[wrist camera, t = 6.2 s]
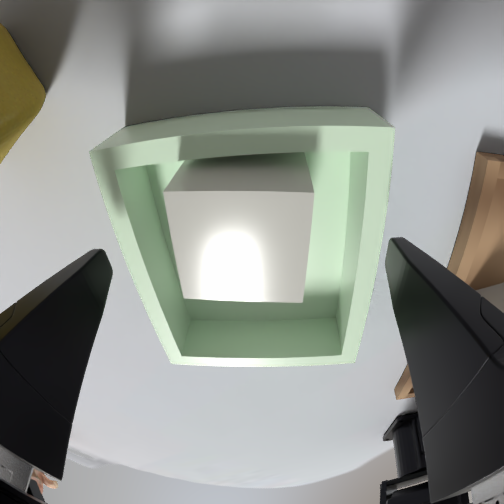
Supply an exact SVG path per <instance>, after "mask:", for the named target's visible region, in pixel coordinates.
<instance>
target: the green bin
mask: <svg viewBox="0 0 504 504" xmlns="http://www.w3.org/2000/svg"><path fill="white" fill-rule="evenodd" d="M394 135H395V127H394V126H392V125H391V124H390V123H388V122H387V121H386V120H385V119H383V118H382V117H381V116H379V115H378V114H377V113H375V112H374V111H373V110H371V109H370V108H368V107H339V106H310V107H278V108H260V109H247V110H235V111H224V112H215V113H206V114H198V115H191V116H184V117H177V118H170V119H164V120H158V121H152V122H147V123H141V124H136V125H131V126H126V127H124V128H122V129H121V130H119V131H118V132H116V133H115V134H113V135H112V136H110V137H109V138H108V139H106V140H105V141H103V142H102V143H101V144H99V145H98V146H96V147H95V148H94V149H92V150H91V151H90V152H89V154H90V157H91V161H92V164H93V168H94V171H95V174H96V178H97V181H98V184H99V187H100V191H101V194H102V197H103V200H104V203H105V206H106V209H107V212H108V215H109V218H110V221H111V223H112V226H113V229H114V232H115V235H116V237H117V240H118V243H119V246H120V248H121V251H122V253H123V256H124V259H125V261H126V264H127V266H128V269H129V271H130V274H131V276H132V279H133V281H134V284H135V286H136V288H137V291H138V293H139V295H140V298H141V300H142V302H143V305H144V307H145V309H146V311H147V314H148V316H149V318H150V320H151V322H152V325H153V327H154V329H155V331H156V333H157V335H158V337H159V340H160V342H161V344H162V346H163V348H164V350H165V352H166V354H167V356H168V358H169V360H170V362H171V364H182V365H201V366H230V367H284V366H313V365H332V364H347V363H355V360H356V356H357V353H358V349H359V345H360V342H361V338H362V334H363V330H364V326H365V322H366V318H367V314H368V309H369V305H370V300H371V296H372V291H373V287H374V282H375V277H376V272H377V267H378V261H379V256H380V250H381V245H382V239H383V232H384V226H385V219H386V212H387V205H388V197H389V189H390V180H391V171H392V161H393V149H394ZM292 152H304V153H305V157H306V161H307V165H308V168H309V172H310V177H311V181H312V185H313V189H314V203H313V214H312V225H311V235H310V244H309V254H308V263H307V271H306V280H305V288H304V296H303V303H285V302H249V301H224V300H203V299H184V297H183V292H182V288H181V283H180V279H179V274H178V269H177V264H176V259H175V254H174V249H173V244H172V239H171V234H170V228H169V223H168V217H167V212H166V206H165V200H164V194H163V191H164V190H165V188H166V187H167V185H168V184H169V182H170V181H171V179H172V178H173V176H174V175H175V173H176V172H177V171H178V169H179V168H180V166H181V165H182V163H183V162H184V161H185V160H193V159H202V158H213V157H225V156H237V155H252V154H269V153H292Z"/></svg>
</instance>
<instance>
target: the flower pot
mask: <svg viewBox="0 0 504 504" xmlns="http://www.w3.org/2000/svg"><path fill="white" fill-rule="evenodd" d="M45 97H46V93H45V89H44V87H43V85H42V84H41V83H40V81H39V79H38V78H37V77H36V75H35V74H34V72H33V70H32V69H31V67H30V66H29V64H28V63H27V61H26V60H25V58H24V57H23V55H22V54H21V52H20V50H19V49H18V47H17V45H16V44H15V42H14V40H13V39H12V37H11V35H10V34H9V32H8V30H7V29H6V28H5V27H4V26H3V25H2V24H1V23H0V164H1V162H2V161H3V159H4V158H5V156H6V155H7V153H8V152H9V150H10V149H11V148H12V146H13V145H14V144H15V142H16V141H17V139H18V138H19V137H20V136H21V134H22V133H23V132H24V130H25V129H26V128H27V127H28V126H29V124H30V123H31V122H32V121H33V119H34V118H35V117H36V116H37V114H38V113H39V111H40V110H41V108H42V106H43V103H44V101H45Z"/></svg>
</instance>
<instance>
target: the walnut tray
mask: <svg viewBox="0 0 504 504" xmlns="http://www.w3.org/2000/svg"><path fill="white" fill-rule="evenodd" d="M447 269H448V270H449V271H451V272H452V273H453V274H455V275H456V276H457V277H459V278H460V279H461V280H463V281H464V282H465V283H467V284H468V285H469V286H470V287H472V288H473V289H474V290H479V289H482V288H486V287H490V286H493V285H497V284H500V283H504V155H499V154H492V153H484V152H476V158H475V163H474V169H473V174H472V179H471V184H470V188H469V193H468V197H467V202H466V206H465V210H464V214H463V218H462V221H461V225H460V229H459V232H458V236H457V239H456V242H455V246H454V249H453V252H452V255H451V259H450V262H449V265H448V268H447ZM394 390H395V395H396V400H398V399H405V398H411V397H415V394H414V389H413V385H412V380H411V376H410V372H409V367H408V364H407V366H406V368H405V370H404V372H403V374H402V376H401V378H400V380H399V382H398V384H397V386H396V387H395V389H394Z"/></svg>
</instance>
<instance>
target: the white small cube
mask: <svg viewBox="0 0 504 504" xmlns="http://www.w3.org/2000/svg"><path fill="white" fill-rule="evenodd" d="M476 291H477V292H478V293H479V294H481V297H482V296H483V297H484V298H486V299H487V300H488V301H489V302H490V303H492V304H493V305H494V306H496V307H497V308H498V309H499V310H501V311H502V312H503V313H504V283H500V284H497V285H493V286H490V287H486V288H482V289H479V290H476Z"/></svg>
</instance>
